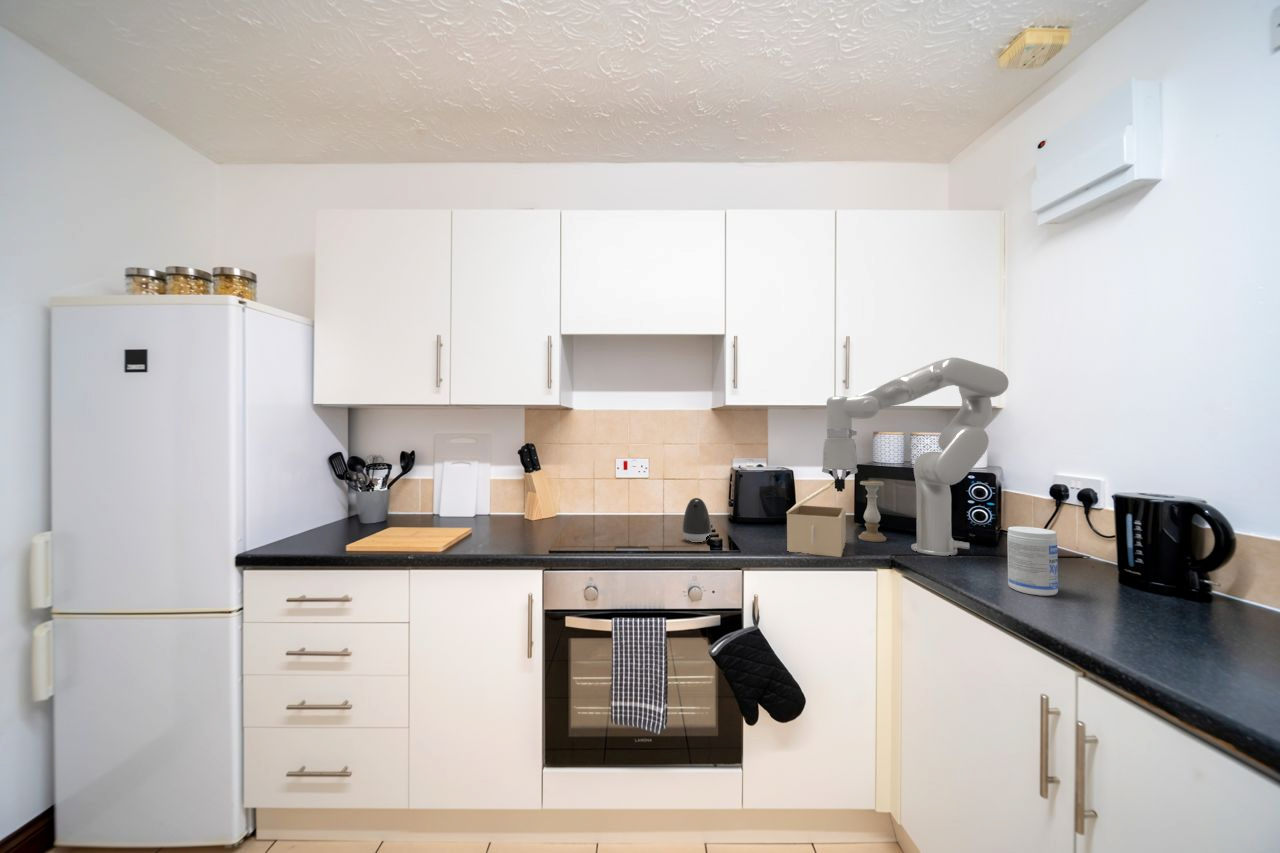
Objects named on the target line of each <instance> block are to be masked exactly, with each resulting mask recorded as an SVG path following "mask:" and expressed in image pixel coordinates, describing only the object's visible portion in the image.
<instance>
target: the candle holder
mask: <svg viewBox="0 0 1280 853" xmlns="http://www.w3.org/2000/svg"><path fill="white" fill-rule="evenodd" d="M859 484H860V485H862V486H865V489H866V491H867V494H866V495H865V497H866V498H867V505H866V509H865V511H864V514H863V519H864V520H865V523H864V526H865V527H866V531H862V532H861V534H858V539H859V540H862V541H866V542H871V543H872V542H873V543H880V542H881V543H882V542H886V541H887V536H884V535H883V533H882V532H879V531H878V528H879V527H880V524H879V522H880V521H881V517H882V516H881V514H880V512H879V509H878V506H877V498H879V496H878V495H877V491H878V490H879V486H884V485H885V484H884V482H883V481H879V480H878V481H877V480H861V481H860V482H859Z"/></svg>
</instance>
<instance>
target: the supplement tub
mask: <svg viewBox="0 0 1280 853" xmlns="http://www.w3.org/2000/svg"><path fill="white" fill-rule="evenodd" d="M1006 538H1007V542H1006V543H1007V583H1008V586H1009V587H1010V588H1011V589H1013V590H1015V591H1017V592H1020V593H1023V594H1027V595H1028V594H1029V595H1035V596H1042V597H1043V596H1047V597H1048V596H1049V597H1050V596H1056V595H1057V594H1058V592H1059V562H1058V559H1059V558H1058V553H1059V552H1058V551H1059V550H1058V537H1057V532H1056V531H1054V530H1052V529H1046V528H1043V527H1033V526H1009V527H1008V528H1007V537H1006Z"/></svg>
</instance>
